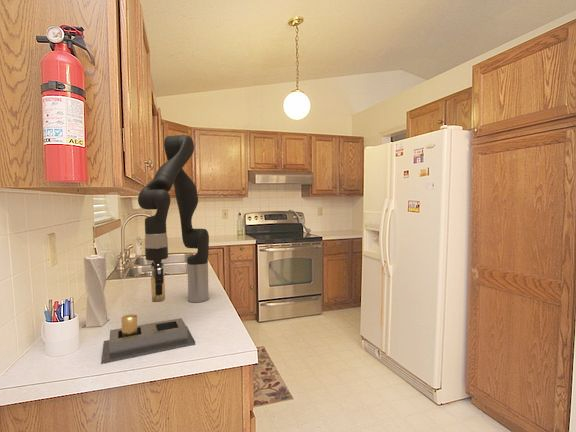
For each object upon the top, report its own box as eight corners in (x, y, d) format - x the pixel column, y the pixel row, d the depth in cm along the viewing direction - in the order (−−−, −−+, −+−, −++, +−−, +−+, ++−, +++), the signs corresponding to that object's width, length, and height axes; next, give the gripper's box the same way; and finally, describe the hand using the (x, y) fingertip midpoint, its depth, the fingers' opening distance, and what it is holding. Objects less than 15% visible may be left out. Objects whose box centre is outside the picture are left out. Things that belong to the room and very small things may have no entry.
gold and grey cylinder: (151, 299, 116) (150, 275, 116) (164, 297, 118) (163, 273, 118) (152, 303, 113) (151, 277, 112) (165, 300, 115) (164, 276, 114)
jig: (103, 343, 104) (102, 313, 103) (186, 328, 116) (186, 301, 115) (101, 363, 91) (100, 329, 90) (195, 344, 102) (194, 314, 102)
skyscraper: (113, 320, 125) (111, 249, 124) (104, 328, 117) (102, 252, 116) (90, 321, 124) (87, 249, 123) (79, 329, 116) (76, 253, 115)
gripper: (143, 244, 119) (145, 289, 120) (146, 249, 106) (148, 300, 107) (165, 242, 122) (166, 286, 123) (170, 247, 110) (172, 296, 111)
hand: (158, 292), depth 115 cm, fingers closed on gold and grey cylinder, 4 cm apart
